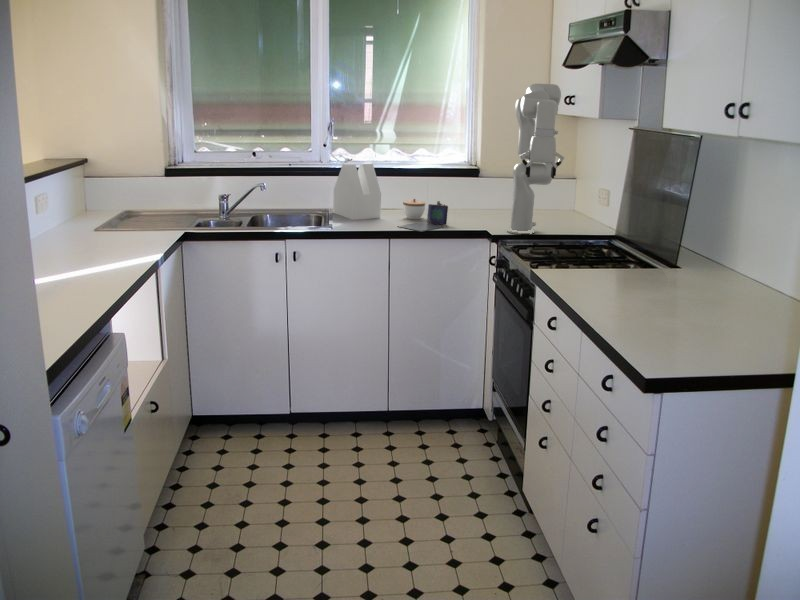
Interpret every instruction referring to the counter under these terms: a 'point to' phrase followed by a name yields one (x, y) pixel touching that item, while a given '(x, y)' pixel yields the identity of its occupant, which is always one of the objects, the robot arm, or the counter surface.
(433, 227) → the slate board
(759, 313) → the counter surface
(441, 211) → the blue clover wallet
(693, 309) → the counter surface
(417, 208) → the lidded jar
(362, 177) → the grey notched block
